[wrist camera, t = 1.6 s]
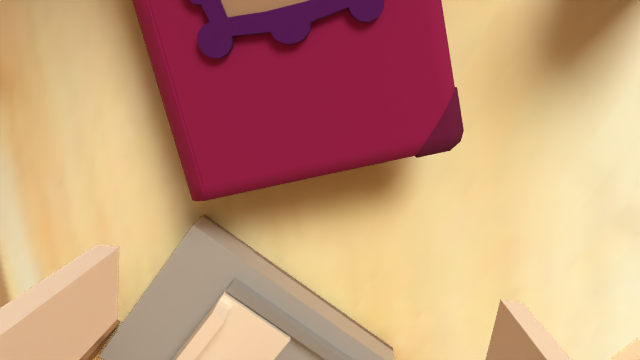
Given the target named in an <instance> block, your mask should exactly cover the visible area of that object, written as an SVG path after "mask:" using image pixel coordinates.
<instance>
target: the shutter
mask: <svg viewBox="0 0 640 360" xmlns="http://www.w3.org/2000/svg"><path fill="white" fill-rule="evenodd" d="M290 339H291V336H290V335H289V334H288V333H286V332H285V331H283V330H282V329H280V328H279V327H277V326H276V325H274V324H273V323H272V322H270V321H269V320H267V319H266V318H264V317H263V316H261V315H260V314H258V313H257V312H256V311H254V310H253V309H251V308H250V307H248V306H247V305H245V304H244V303H242V302H241V301H240V300H238V299H237V298H235V297H234V296H232V295H231V294H229V293H228V292H226V290H225V291H224V293H223V294H222V295H221V297H220V298H219V299H218V301H217V302H216V303H215V304H214V306H213V307H212V308H211V310H210V311H209V312H208V314H207V315H206V316H205V317H204V319H203V320H202V321H201V323H200V324H199V325H198V327H197V328H196V329H195V330H194V332H193V333H192V334H191V336H190V337H189V338H188V340H187V341H186V342H185V343H184V345H183V346H182V347H181V349H180V350H179V351H178V353H177V354H176V355H175V356H174V358H173V359H172V360H274V359H275V358H276V357H277V355H278V354H279V353H280V352H281V351H282V349H283V348H284V347H285V346H286V345H287V343H288V342H289V341H290Z"/></svg>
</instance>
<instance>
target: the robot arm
mask: <svg viewBox="0 0 640 360" xmlns="http://www.w3.org/2000/svg"><path fill="white" fill-rule="evenodd" d="M118 282H119V247H116V246H109V245H102V244H96V245H95V246H93V247H92V248H90V249H89V250H87V251H86V252H84V253H83V254H81V255H80V256H78V257H77V258H75V259H74V260H72V261H71V262H69V263H68V264H66V265H65V266H63V267H62V268H60V269H59V270H57V271H56V272H54V273H53V274H51V275H50V276H48V277H47V278H45V279H44V280H42V281H41V282H39V283H38V284H36V285H35V286H33V287H32V288H30V289H28V290H27V291H25V292H24V293H22V294H21V295H19V296H18V297H16V298H15V299H13V300H12V301H10V302H9V303H7V304H6V305H4V306H3V307H1V308H0V360H79V359H80V358H81V357H82V356H83V355H84V354H85V353H86V352H87V351H88V350H89V349H90V348H91V347H92V346H93V345H94V343H95V342H96V341H97V340H98V339H99V338H100V337H101V336H102V335H103V334H104V333H105V332H106V331H107V330H108V329H109V327H110V326H111V325H112V324H113V323H114V322H115V321H116V320H117V319H118ZM486 360H572V359H571V358H570V357H569V355H568V354H567V353H566V352H565V351H564V350H563V348H562V347H561V346H560V345H559V344H558V343H557V341H556V340H555V339H554V338H553V337H552V336H551V334H550V333H549V332H548V331H547V330H546V329H545V327H544V326H543V325H542V324H541V323H540V322H539V320H538V319H537V318H536V317H535V316H534V315H533V313H532V312H531V311H530V310H529V309H528V308H527V306H526V305H525V304H524V303H523V302H517V301H509V300H502V299H501V300H500V304H499V308H498V312H497V316H496V320H495V324H494V328H493V332H492V336H491V340H490V344H489V348H488V353H487V357H486Z"/></svg>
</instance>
